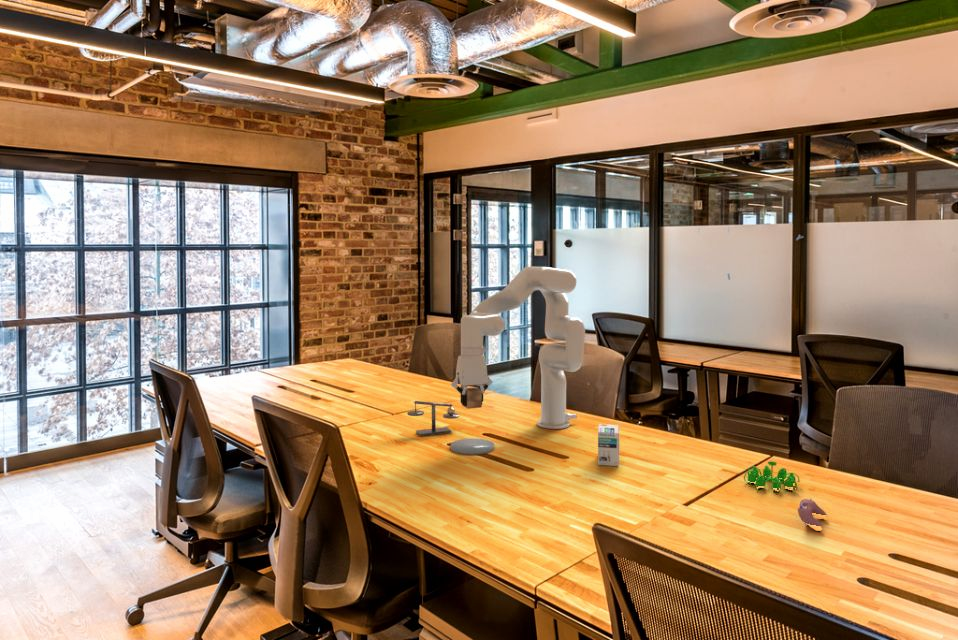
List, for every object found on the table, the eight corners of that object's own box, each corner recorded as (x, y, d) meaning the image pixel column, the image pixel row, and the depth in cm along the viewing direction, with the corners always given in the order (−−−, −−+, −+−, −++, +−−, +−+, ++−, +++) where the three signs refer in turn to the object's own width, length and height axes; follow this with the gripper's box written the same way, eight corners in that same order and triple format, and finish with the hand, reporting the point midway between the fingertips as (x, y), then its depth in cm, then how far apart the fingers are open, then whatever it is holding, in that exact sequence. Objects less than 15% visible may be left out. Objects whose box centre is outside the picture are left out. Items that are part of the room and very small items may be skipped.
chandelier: (749, 493, 188) (750, 469, 187) (738, 475, 203) (739, 453, 202) (806, 497, 186) (808, 472, 185) (791, 478, 200) (792, 456, 200)
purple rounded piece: (811, 522, 172) (798, 496, 173) (829, 518, 169) (816, 491, 170) (804, 536, 164) (792, 508, 165) (824, 532, 161) (810, 504, 162)
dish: (483, 439, 240) (483, 436, 240) (501, 451, 227) (501, 448, 226) (444, 444, 234) (444, 441, 234) (459, 457, 221) (459, 453, 221)
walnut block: (475, 404, 232) (475, 387, 231) (481, 407, 228) (481, 389, 227) (462, 405, 230) (462, 388, 230) (467, 408, 226) (467, 391, 225)
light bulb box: (619, 466, 211) (619, 433, 210) (597, 465, 212) (597, 432, 211) (618, 456, 221) (619, 424, 220) (598, 455, 222) (598, 423, 221)
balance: (455, 428, 256) (455, 395, 254) (461, 432, 250) (461, 398, 249) (405, 433, 248) (405, 400, 247) (410, 438, 243) (410, 403, 241)
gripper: (490, 348, 234) (490, 400, 235) (444, 351, 227) (444, 404, 229) (499, 352, 227) (499, 404, 229) (452, 355, 220) (452, 409, 222)
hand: (471, 404), depth 229 cm, fingers closed on walnut block, 5 cm apart
